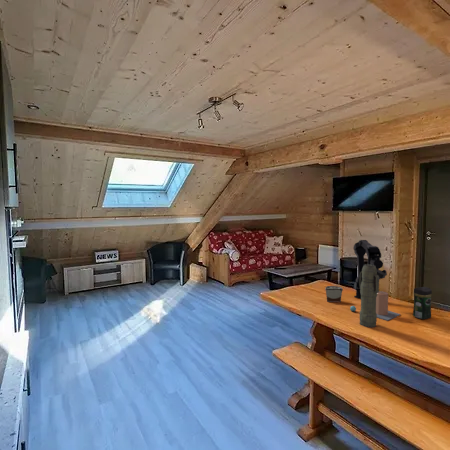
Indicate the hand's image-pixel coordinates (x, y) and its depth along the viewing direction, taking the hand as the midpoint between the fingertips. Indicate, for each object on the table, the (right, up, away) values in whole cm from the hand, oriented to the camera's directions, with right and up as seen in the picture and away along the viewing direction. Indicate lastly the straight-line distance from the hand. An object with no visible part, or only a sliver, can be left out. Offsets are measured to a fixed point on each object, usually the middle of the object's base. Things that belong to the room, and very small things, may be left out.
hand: (371, 288), depth 200 cm
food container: (-20, -12, +16) cm, 29 cm away
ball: (-15, -14, -6) cm, 21 cm away
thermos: (-15, -16, -26) cm, 34 cm away
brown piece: (+1, -13, -10) cm, 17 cm away
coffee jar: (+23, -14, -16) cm, 31 cm away
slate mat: (+1, -14, -11) cm, 17 cm away
